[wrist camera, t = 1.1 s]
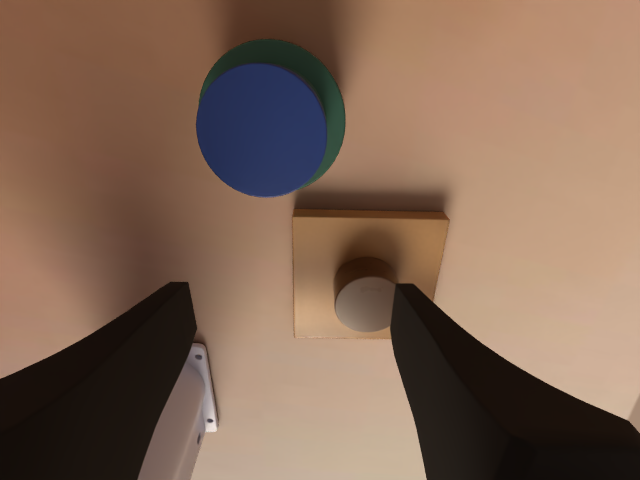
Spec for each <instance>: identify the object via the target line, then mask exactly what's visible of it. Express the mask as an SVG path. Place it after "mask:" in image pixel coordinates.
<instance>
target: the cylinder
mask: <svg viewBox="0 0 640 480" xmlns="http://www.w3.org/2000/svg"><path fill="white" fill-rule="evenodd" d="M396 283H399V281H398V278H397V276H396V273H395V271H394V270H393V268H392V267H391V266H390V265H389V264H388V263H386V262H385V261H383V260H381V259H378V258H374V257H360V258H356V259H353V260H351V261H349V262H347V263H346V264H344V265H343V266H342V267H341V268H340V269H339V270H338V272H337V273H336V275H335V278H334V282H333V292H334V308H335V312H336V315H337V317H338V319H339V320H340V321H341V322H342V323H343V324H344V325H345V326H347V327H348V328H350V329H352V330H355V331H359V332H376V331H380V330H383V329H385V328H387V327H389V326H390V324H391V317H392V309H393V301H394V293H395V285H396Z"/></svg>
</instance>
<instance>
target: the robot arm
mask: <svg viewBox="0 0 640 480" xmlns="http://www.w3.org/2000/svg"><path fill="white" fill-rule="evenodd" d="M196 330H197V325H196V320H195V315H194V310H193V304H192V299H191V294H190V289H189V283H188V282H170V283H168V284H166V285H165V286H163V287H161V288H160V289H158V290H157V291H156V292H154V293H153V294H151V295H150V296H148V297H147V298H145V299H144V300H143V301H141V302H140V303H138V304H137V305H135V306H134V307H132V308H131V309H129V310H128V311H127V312H125V313H124V314H122V315H121V316H119V317H117V318H116V319H114V320H113V321H111V322H110V323H108V324H106V325H105V326H103V327H102V328H100V329H99V330H97V331H95V332H94V333H92V334H90V335H89V336H87V337H85V338H84V339H82V340H80V341H78V342H76V343H75V344H73V345H71V346H69V347H67V348H65V349H63V350H62V351H60V352H58V353H56V354H54V355H52V356H50V357H48V358H46V359H43V360H41V361H39V362H37V363H35V364H33V365H30V366H28V367H26V368H24V369H22V370H20V371H18V372H15V373H13V374H11V375H9V376H6V377H4V378H1V379H0V480H190V479H191V476H192V473H193V469H194V466H195V463H196V460H197V457H198V453H199V450H200V447H201V444H202V441H203V437H204V434H205V432H215V431H217V430H218V426H219V424H218V418H217V412H216V406H215V400H214V394H213V388H212V382H211V376H210V370H209V364H208V358H207V351H206V347H205V346H204V345H203V344H200V343H193V340H194V337H195V334H196ZM390 333H391V339H392V345H393V350H394V356H395V359H396V362H397V366H398V369H399V372H400V375H401V379H402V382H403V385H404V388H405V391H406V395H407V398H408V401H409V404H410V407H411V411H412V414H413V417H414V421H415V425H416V428H417V433H418V438H419V443H420V448H421V452H422V457H423V462H424V467H425V473H426V478H427V480H640V433H639V432H638V431H637V430H636V428H635V427H634V426H633V425H632V424H631V423H630V422H629V421H628V420H625V419H623V418H621V417H618V416H616V415H614V414H611V413H609V412H607V411H604V410H602V409H600V408H597V407H595V406H593V405H590V404H588V403H586V402H584V401H581V400H579V399H577V398H575V397H573V396H571V395H569V394H567V393H565V392H563V391H561V390H559V389H557V388H555V387H553V386H551V385H549V384H547V383H545V382H543V381H542V380H540V379H538V378H536V377H534V376H532V375H531V374H529V373H527V372H526V371H524V370H522V369H520V368H519V367H517V366H515V365H514V364H512V363H510V362H509V361H507V360H506V359H504V358H503V357H501V356H500V355H498V354H497V353H495V352H494V351H492V350H491V349H489V348H488V347H486V346H485V345H484V344H482V343H481V342H479V341H478V340H477V339H475V338H474V337H473V336H472V335H470V334H469V333H468V332H467V331H465V330H464V329H463V328H462V327H460V326H459V325H458V324H457V323H456V322H454V321H453V320H452V319H451V318H450V317H449V316H448V315H446V314H445V313H444V312H443V311H442V310H441V309H440V308H439V307H438V306H437V305H436V304H435V303H433V302H432V301H431V300H430V299H429V298H428V297H427V296H426V295H425V294H424V293H423V292H422V291H421V290H420V289H419V288H418V287H417V286H416V285H415V284H413V283H396V285H395V293H394V301H393V309H392V317H391V324H390ZM198 354H199V355H201V356H199V355H198Z"/></svg>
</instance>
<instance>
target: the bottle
mask: <svg viewBox="0 0 640 480" xmlns="http://www.w3.org/2000/svg"><path fill="white" fill-rule="evenodd" d="M196 130H197V138H198V143H199V146H200V149H201V152H202V154H203V156H204V158H205V160H206V162H207V163H208V165H209V167H210V168H211V169H212V171H213V172H214V173H215V174H216V175H217V176H218V177H219V178H220V179H221V180H222V181H223V182H225V183H226V184H227V185H229V186H230V187H232V188H233V189H235V190H237V191H239V192H242V193H244V194H247V195H251V196H256V197H265V198H267V197H277V196H282V195H286V194H289V193H291V192H293V191H295V190H298V189H301V188H303V187H306V186H308V185H310V184H311V183H313V182H314V181H316V180H317V179H319V178H320V177H321V176H322V175H323V174H324V173H325V172H326V171H327V170H328V169H329V168H330V166H331V165H332V164H333V162H334V161H335V159H336V157H337V155H338V153H339V151H340V148H341V146H342V142H343V138H344V133H345V108H344V103H343V99H342V95H341V93H340V90H339V88H338V85H337V83H336V82H335V80H334V78H333V76H332V75H331V73H330V72H329V71H328V69H327V68H326V67H325V66H324V65H323V64H322V63H321V62H320V60H319V59H317V58H316V57H315V56H314V55H312V54H311V53H310V52H308V51H307V50H305V49H303V48H301V47H300V46H297V45H295V44H292V43H290V42H286V41H282V40H275V39H259V40H254V41H249V42H246V43H243V44H241V45H238V46H236V47H235V48H233V49H231V50H229V51H228V52H227V53H226V54H224V55H223V56H222V57H221V58H220V59H219V60H218V61H217V62H216V63H215V64H214V66H213V67H212V68H211V70H210V71H209V73H208V75H207V77H206V79H205V81H204V83H203V86H202V89H201V93H200V98H199V107H198V112H197V120H196Z"/></svg>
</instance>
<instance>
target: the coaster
mask: <svg viewBox="0 0 640 480" xmlns="http://www.w3.org/2000/svg"><path fill="white" fill-rule="evenodd" d="M449 221H450V219H449V218H448V217H447V216H446V215H445V213H444V212H421V211H372V210H323V209H294V210H293V215H292V236H293V304H294V338H344V339H391V333H390V326H389V327H387V328H385V329H383V330H380V331H376V332H359V331H355V330H352V329H350V328H348V327H347V326H345V325H344V324H343V323H342V322H341V321H340V320H339V319H338V317H337V315H336V312H335V308H334V292H333V282H334V278H335V275H336V273H337V272H338V270H339V269H340V268H341V267H342V266H343V265H344V264H346V263H347V262H349V261H351V260H353V259H356V258H360V257H374V258H378V259H381V260H383V261H385V262H386V263H388V264H389V265H390V266H391V267H392V268H393V270H394V271H395V273H396V276H397V278H398V281H399V283H413V284H415V285H416V286H417V287H418V288H419V289H420V290H421V291H422V292H423V293H424V294H425V295H426V296H427V297H428V298H429V299H430V300H431V301H432V302H433V299H434V294H435V289H436V284H437V279H438V274H439V269H440V265H441V260H442V255H443V250H444V245H445V240H446V235H447V231H448V226H449Z"/></svg>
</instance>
